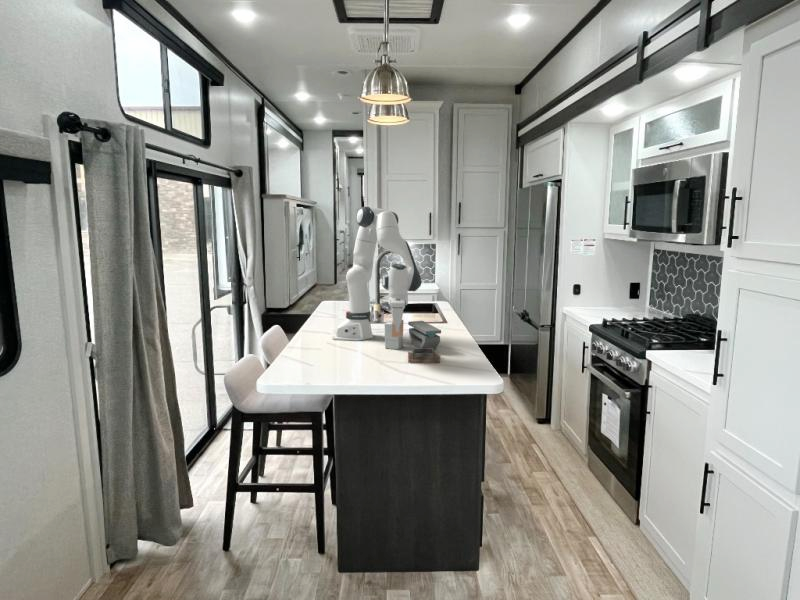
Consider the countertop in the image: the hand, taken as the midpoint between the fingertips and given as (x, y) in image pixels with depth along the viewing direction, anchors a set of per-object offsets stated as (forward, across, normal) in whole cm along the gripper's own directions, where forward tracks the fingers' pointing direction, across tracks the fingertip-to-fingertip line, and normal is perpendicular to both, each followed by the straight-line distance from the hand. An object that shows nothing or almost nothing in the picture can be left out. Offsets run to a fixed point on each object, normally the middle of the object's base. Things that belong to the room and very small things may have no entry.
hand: (397, 330), depth 226 cm
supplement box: (+13, -19, -2) cm, 23 cm away
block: (+3, 0, 0) cm, 3 cm away
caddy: (+13, +2, +12) cm, 18 cm away
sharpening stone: (+13, -20, +13) cm, 27 cm away
